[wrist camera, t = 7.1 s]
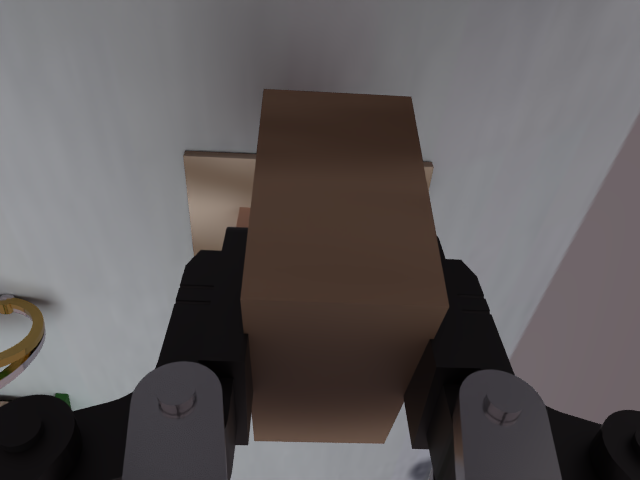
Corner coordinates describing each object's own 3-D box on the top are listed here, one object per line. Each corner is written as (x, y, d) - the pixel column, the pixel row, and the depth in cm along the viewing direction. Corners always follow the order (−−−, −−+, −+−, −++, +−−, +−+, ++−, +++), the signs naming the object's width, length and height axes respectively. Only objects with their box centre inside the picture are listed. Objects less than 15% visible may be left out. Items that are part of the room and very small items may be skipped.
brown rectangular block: (188, 84, 11) (133, 296, 7) (483, 100, 11) (550, 310, 8) (225, 332, 18) (206, 486, 15) (397, 337, 19) (413, 489, 15)
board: (185, 150, 30) (183, 155, 29) (431, 162, 30) (433, 167, 30) (205, 343, 39) (204, 349, 39) (391, 348, 40) (392, 355, 40)
